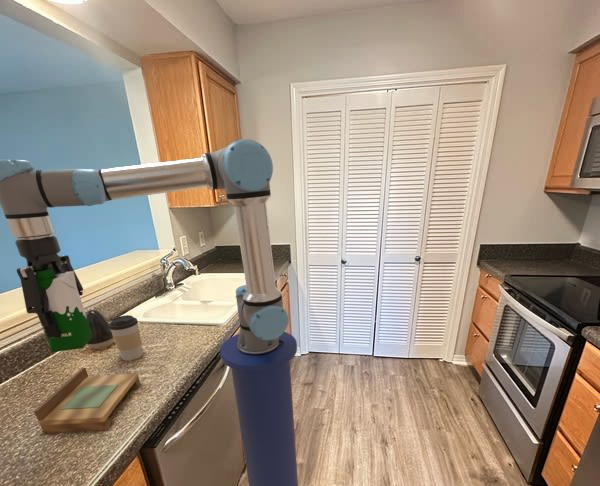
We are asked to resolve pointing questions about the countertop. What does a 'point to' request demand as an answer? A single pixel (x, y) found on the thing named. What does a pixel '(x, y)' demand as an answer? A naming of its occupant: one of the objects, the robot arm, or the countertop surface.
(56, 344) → the soya milk
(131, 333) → the coffee cup
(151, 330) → the countertop surface
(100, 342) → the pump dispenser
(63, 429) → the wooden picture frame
